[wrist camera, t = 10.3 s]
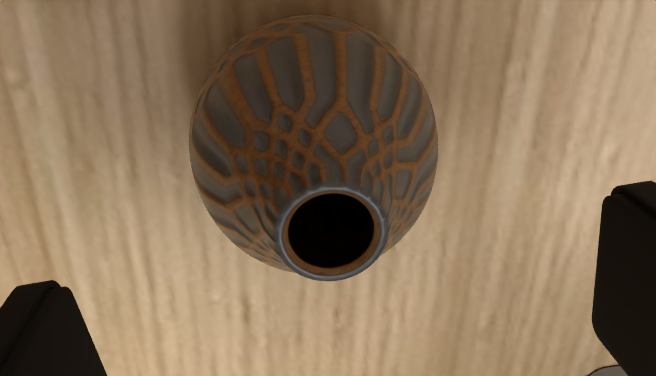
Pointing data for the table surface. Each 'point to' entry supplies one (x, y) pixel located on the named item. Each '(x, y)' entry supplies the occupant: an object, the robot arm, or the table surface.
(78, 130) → the table surface
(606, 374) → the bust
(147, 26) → the table surface
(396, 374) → the table surface
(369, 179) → the vase
